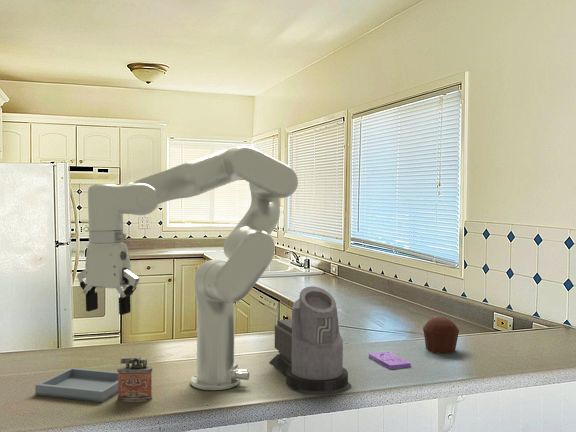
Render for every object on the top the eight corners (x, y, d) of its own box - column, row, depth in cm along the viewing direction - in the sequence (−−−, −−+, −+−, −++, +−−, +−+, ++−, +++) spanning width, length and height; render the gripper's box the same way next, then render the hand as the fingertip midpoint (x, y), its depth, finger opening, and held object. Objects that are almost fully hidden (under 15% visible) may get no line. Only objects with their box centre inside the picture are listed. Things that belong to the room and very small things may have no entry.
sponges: (388, 356, 172) (388, 350, 172) (411, 368, 161) (411, 362, 161) (367, 359, 170) (368, 352, 170) (390, 371, 158) (390, 364, 158)
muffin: (424, 343, 187) (424, 313, 186) (459, 346, 183) (459, 316, 183) (420, 353, 175) (421, 321, 175) (458, 356, 172) (458, 324, 171)
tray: (133, 383, 144) (133, 373, 144) (102, 402, 131) (102, 391, 130) (71, 377, 148) (71, 367, 148) (35, 395, 135) (35, 384, 135)
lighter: (153, 396, 135) (153, 355, 134) (150, 401, 131) (150, 359, 131) (119, 396, 135) (119, 355, 134) (115, 401, 131) (115, 359, 131)
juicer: (361, 390, 141) (363, 293, 140) (302, 398, 135) (304, 296, 134) (312, 358, 169) (313, 276, 168) (261, 363, 163) (262, 279, 162)
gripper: (147, 237, 129) (148, 311, 130) (89, 235, 137) (91, 305, 137) (125, 240, 123) (127, 318, 123) (65, 238, 130) (67, 312, 131)
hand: (108, 311), depth 130 cm, fingers open, 9 cm apart
